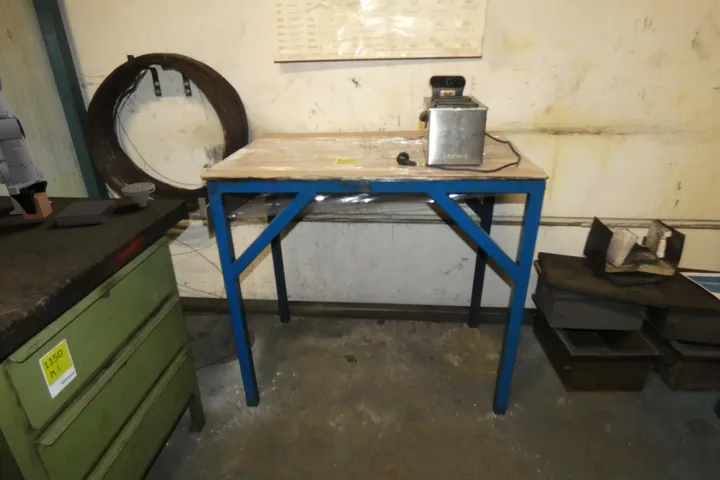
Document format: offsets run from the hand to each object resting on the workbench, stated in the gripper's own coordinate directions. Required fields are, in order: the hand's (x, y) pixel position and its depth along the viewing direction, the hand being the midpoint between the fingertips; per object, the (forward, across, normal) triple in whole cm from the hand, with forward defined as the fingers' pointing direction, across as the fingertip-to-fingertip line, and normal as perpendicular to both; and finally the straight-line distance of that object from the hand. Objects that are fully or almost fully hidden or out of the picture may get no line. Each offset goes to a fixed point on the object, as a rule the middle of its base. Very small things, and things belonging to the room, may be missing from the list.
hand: (37, 210), depth 121 cm
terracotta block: (+2, 0, 0) cm, 2 cm away
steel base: (+4, +2, -12) cm, 13 cm away
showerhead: (+4, +9, -25) cm, 27 cm away
